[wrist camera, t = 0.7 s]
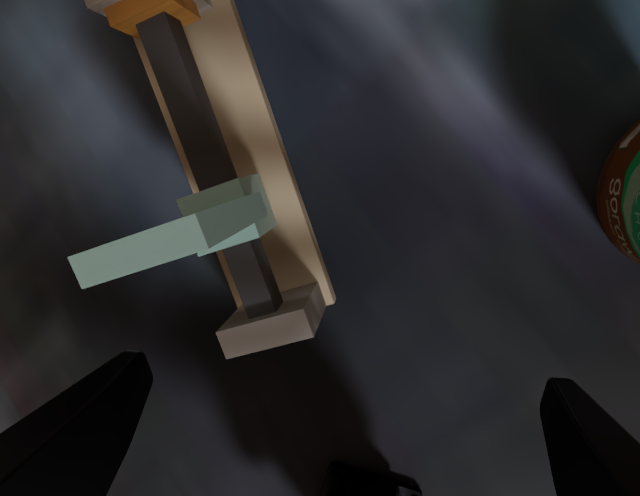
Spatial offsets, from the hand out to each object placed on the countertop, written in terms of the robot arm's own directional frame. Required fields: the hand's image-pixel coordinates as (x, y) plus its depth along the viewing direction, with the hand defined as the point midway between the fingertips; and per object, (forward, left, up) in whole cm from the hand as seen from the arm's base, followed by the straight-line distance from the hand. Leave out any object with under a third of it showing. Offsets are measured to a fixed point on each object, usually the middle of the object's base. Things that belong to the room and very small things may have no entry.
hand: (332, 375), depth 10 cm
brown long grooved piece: (+2, +9, -17) cm, 19 cm away
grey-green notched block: (0, +7, -14) cm, 16 cm away
